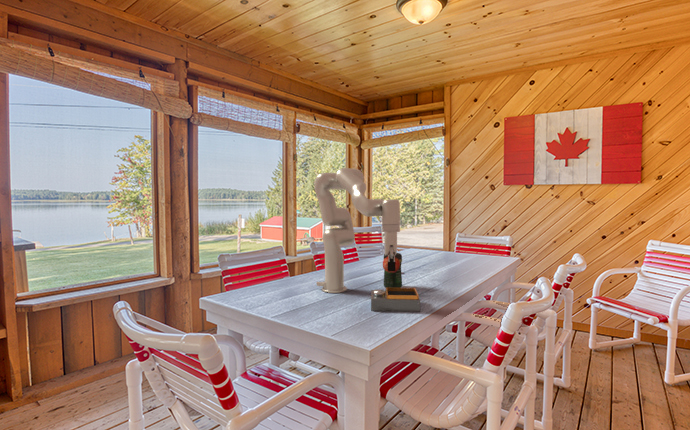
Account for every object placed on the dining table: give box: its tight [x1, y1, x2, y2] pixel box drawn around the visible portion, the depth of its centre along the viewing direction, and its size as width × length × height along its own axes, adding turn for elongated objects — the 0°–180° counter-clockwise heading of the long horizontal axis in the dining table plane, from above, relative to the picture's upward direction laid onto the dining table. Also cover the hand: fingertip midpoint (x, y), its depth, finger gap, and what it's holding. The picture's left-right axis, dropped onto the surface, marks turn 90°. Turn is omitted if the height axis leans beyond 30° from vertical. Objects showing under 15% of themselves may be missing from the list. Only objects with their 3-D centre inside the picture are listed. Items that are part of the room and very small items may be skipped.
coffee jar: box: [383, 252, 403, 288], centre depth 182 cm, size 10×8×19 cm
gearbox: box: [370, 287, 421, 313], centre depth 150 cm, size 20×14×6 cm
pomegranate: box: [382, 257, 400, 273], centre depth 149 cm, size 7×7×10 cm
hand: (391, 269), depth 149 cm, fingers closed on pomegranate, 7 cm apart
